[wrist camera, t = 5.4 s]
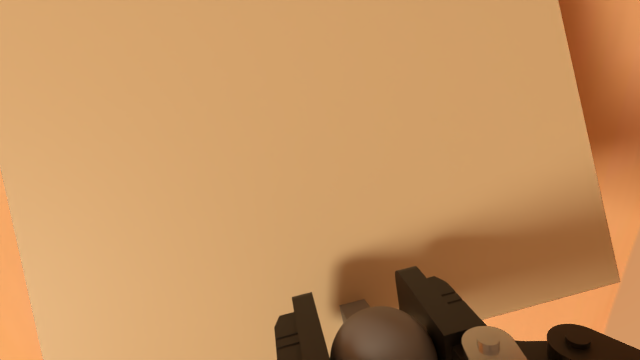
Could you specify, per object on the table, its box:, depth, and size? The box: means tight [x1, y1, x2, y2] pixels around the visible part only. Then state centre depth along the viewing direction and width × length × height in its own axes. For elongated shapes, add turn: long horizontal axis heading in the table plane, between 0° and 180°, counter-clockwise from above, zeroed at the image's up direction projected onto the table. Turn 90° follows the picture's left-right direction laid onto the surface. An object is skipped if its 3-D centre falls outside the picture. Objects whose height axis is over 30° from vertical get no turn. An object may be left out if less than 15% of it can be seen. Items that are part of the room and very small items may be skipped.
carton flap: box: [0, 0, 620, 360], centre depth 13 cm, size 16×22×6 cm
